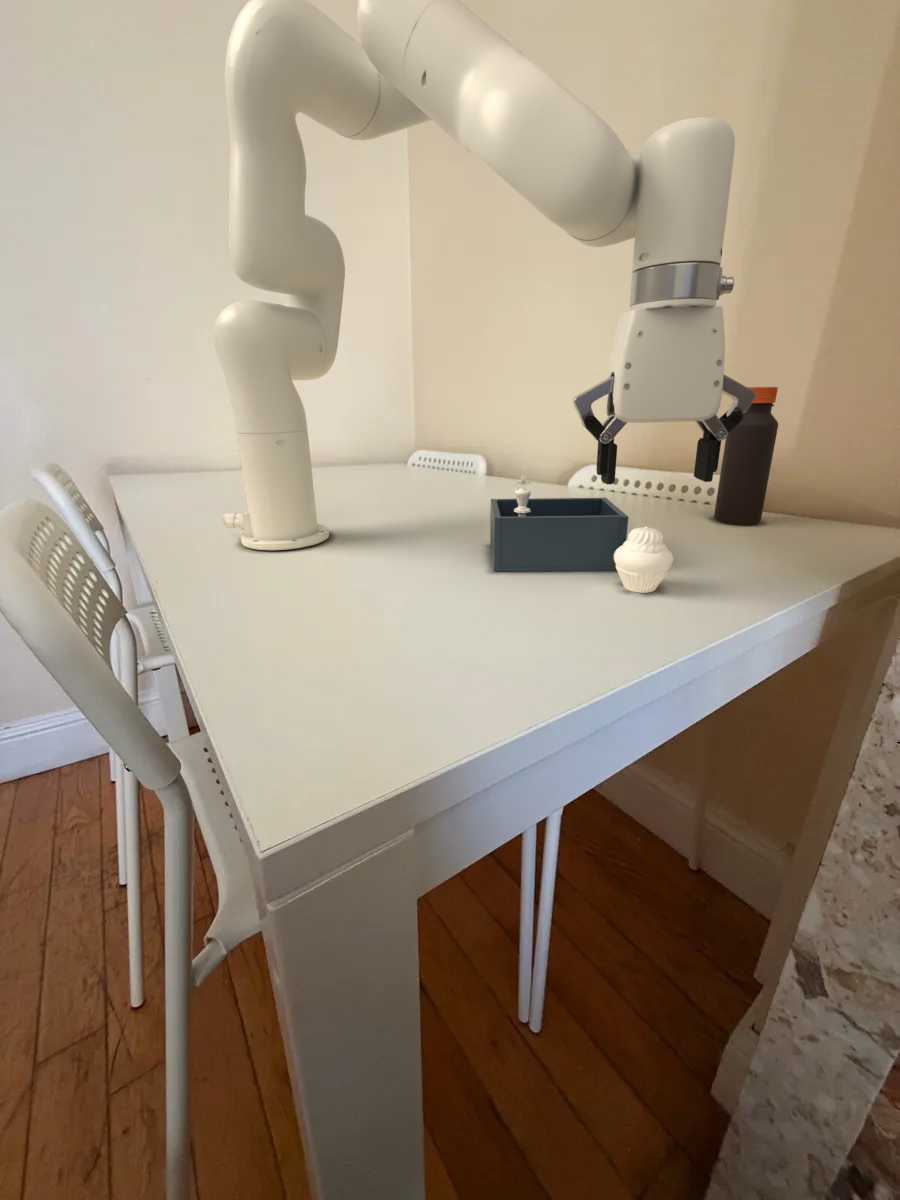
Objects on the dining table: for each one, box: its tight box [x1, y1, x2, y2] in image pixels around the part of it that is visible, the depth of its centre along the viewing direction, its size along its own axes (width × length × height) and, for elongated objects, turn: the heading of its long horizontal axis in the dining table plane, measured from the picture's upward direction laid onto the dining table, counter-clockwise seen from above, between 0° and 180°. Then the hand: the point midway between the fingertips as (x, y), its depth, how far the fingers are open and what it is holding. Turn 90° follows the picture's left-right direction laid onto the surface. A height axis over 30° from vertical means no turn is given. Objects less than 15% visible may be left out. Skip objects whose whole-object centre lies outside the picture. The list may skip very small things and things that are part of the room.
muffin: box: [614, 525, 674, 594], centre depth 61 cm, size 6×6×7 cm
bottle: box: [713, 386, 779, 526], centre depth 87 cm, size 7×7×20 cm
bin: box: [489, 497, 630, 572], centre depth 73 cm, size 16×12×7 cm
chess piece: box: [514, 474, 532, 517], centre depth 72 cm, size 5×5×10 cm
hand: (654, 481), depth 58 cm, fingers open, 9 cm apart
